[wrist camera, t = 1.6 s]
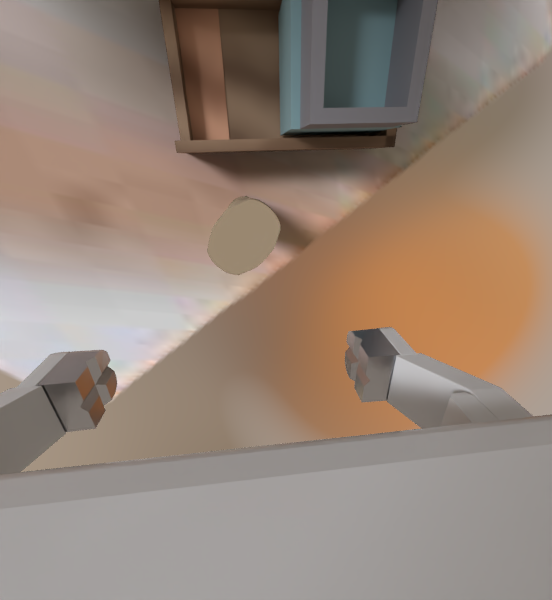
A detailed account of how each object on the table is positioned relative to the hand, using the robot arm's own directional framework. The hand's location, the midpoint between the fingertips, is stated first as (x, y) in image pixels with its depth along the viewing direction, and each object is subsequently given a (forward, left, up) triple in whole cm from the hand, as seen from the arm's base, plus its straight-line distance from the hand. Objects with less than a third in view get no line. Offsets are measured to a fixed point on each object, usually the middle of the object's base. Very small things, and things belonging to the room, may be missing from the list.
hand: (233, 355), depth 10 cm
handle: (0, 0, -30) cm, 30 cm away
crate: (-13, +10, -28) cm, 33 cm away
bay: (-13, +5, -30) cm, 33 cm away
